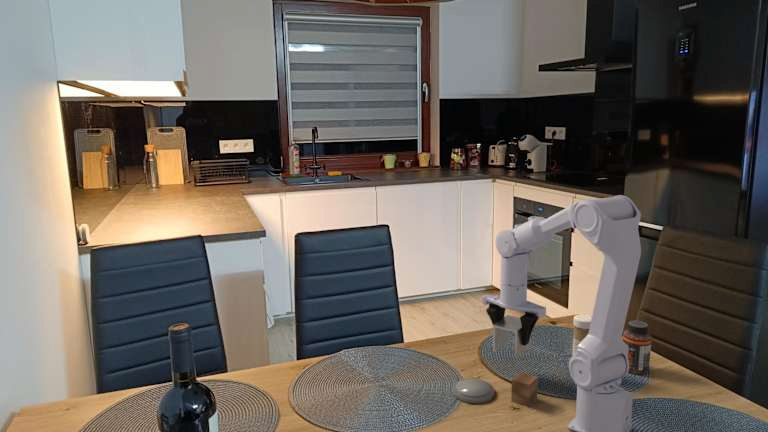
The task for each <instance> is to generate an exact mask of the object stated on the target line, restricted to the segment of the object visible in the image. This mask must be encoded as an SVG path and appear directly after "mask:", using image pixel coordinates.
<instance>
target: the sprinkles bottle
mask: <svg viewBox="0 0 768 432" xmlns="http://www.w3.org/2000/svg"><path fill="white" fill-rule="evenodd" d="M591 319H592V316H591V315H588V314H576V315H574V316H573V323H572V324H573V337H572V356H573V355H574V354H575V352H576V349H577V346H578V345H579V343H580V342H581V341H582V340H583V339H584V338H585V337H586V336H587V335H588V333H589V329H590V324H591ZM572 356H571V357H572Z"/></svg>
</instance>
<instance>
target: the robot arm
mask: <svg viewBox="0 0 768 432" xmlns="http://www.w3.org/2000/svg"><path fill="white" fill-rule="evenodd" d="M641 216H642V213H641V211H640V209H638V207H637V205H636V204H635V203H634V201H633V200H632V199H631V198H630V197H628V196H626V195H622V194H618V195H614V196H611V197H603V198H596V199H595V198H593V199H582V200H581V201H579V202H575V203H574V202H573V203H571V204H570V205H569V206H567V207H565V208H564V209H561V210H560V211H558V212H556V213H554V214H553V215H551V216H549V217H547V218H546V217H543V216H537V215H531V216H529V217H528V218H527V221H526V222H523V223H517V224H515V225H514V228H513V229H503V230H500V231H499V232H498V234H497V235H496V237H495V247H496V250H497V252H498V254H499V255H500V257H501V258H500V290H499V291H500V295H498V294H497V295H494V294H488V293H486V294H484V295H482V301H481V304H482V305H485V306H487V305H488V308H486V314H487V315H488V318H489V319H490V321H491V324H492V325H493V324H495V323H496V322H498V321H499V320H501V319H502V318H504V317H505V314H506V309H507V310H511V311H515V312H519V313H524V314H523V315H521V316H520V317H519V318H520V320H521V325H522V345H524V346H526V345H527V344H528V343H529V340H530V336H532V333H533V330H534V328H535V326H536V324H537V321H538V320H539V319H540V318H541V319H543V318H544V317H546V316H547V307H546V306H543V305H539V304H537V303H534V302H532V301H530V300H528V299H527V297H528V292H527V291H528V263H529V262H530V260H531V254H532V253H533V250H535V249H537V248H539V247H542V246H544V245H547V244H549V243H551V242H552V241H553V239H554V237H555V234H557V233H560V232H563V231H565V230H567V229H570V228H572V229H577V231H579V233H580V234H581V235H582V236H584V237H585V239H586V240H587V241H588V242H589V243H590V244H591V245H592V246H593V247H594V248H595V249H596V250H598V251H599V252H601V253H602V255H603V257H604V258H603V263H602V268H601V273H600V277H599V282H598V286H597V292H596V295H595V301H594V305H593V310H592V319H591V324H590V329H589V333H588V335H587V336H586V337H585V338H584V339H583V340H582V341H581V342H580V343H579V345H578V346H577V349H576V352H575V354H574V355H573V356H571V357H570V359H569V362H568V369H569V374H570V376H571V379H572V380H573V382H574V384H575V385H576V400H575V401H576V405H575V406H576V407H575V416H574V418H573V419H572V420H571V421H570V422H569V423H568V425H567V429H568V430H571V431H573V432H630V431H631V430H632V417H633V416H632V413H633V394H632V392H630V391H628V390H625V388H622V387H621V386H620V385H621V384H622V378H625V376H627V375H628V374H629V372H628V371H629V361H628V350H629V347H628V346H627V345H626V344H625V343H624V342H623V339H622V338H623V333H624V328H625V324H626V320H627V315H628V311H629V307H630V303H631V298H632V294H633V290H634V285H635V281H636V277H637V273H638V268H639V264H640V259H641V255H642V246H641V245H642V244H641V239H640V233H639V226H640V221H641Z"/></svg>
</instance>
